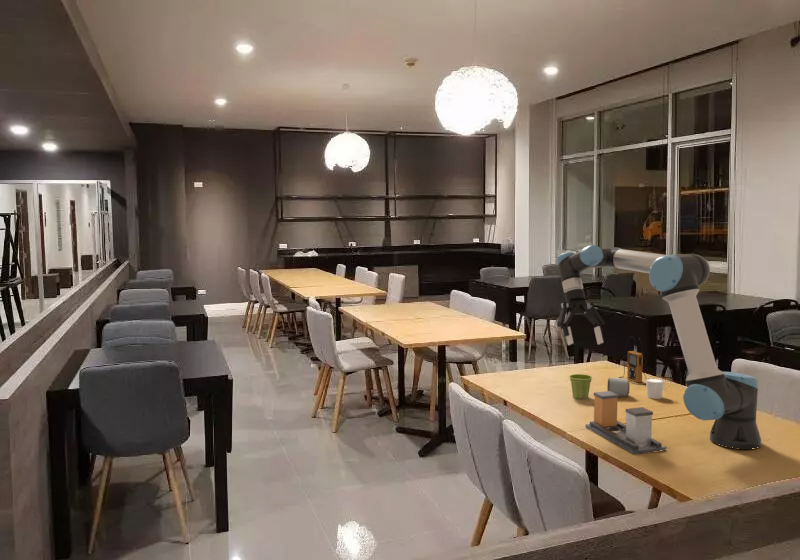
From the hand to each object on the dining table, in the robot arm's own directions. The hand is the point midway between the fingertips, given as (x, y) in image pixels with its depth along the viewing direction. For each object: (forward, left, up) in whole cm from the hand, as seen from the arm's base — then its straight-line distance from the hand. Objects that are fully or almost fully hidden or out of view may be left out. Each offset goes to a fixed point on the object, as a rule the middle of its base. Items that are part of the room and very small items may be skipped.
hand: (585, 344), depth 249 cm
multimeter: (+23, -52, -27) cm, 63 cm away
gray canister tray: (-28, +10, -27) cm, 40 cm away
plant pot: (+16, -15, -27) cm, 35 cm away
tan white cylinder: (0, -41, -27) cm, 49 cm away
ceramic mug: (+11, -30, -27) cm, 42 cm away
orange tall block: (-17, +7, -25) cm, 31 cm away
